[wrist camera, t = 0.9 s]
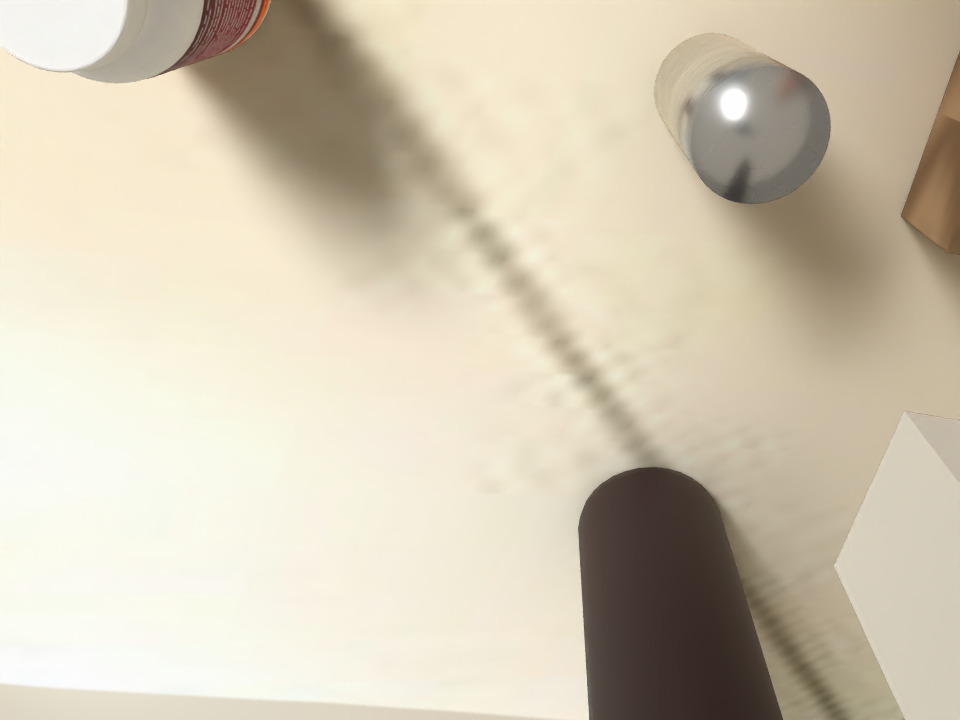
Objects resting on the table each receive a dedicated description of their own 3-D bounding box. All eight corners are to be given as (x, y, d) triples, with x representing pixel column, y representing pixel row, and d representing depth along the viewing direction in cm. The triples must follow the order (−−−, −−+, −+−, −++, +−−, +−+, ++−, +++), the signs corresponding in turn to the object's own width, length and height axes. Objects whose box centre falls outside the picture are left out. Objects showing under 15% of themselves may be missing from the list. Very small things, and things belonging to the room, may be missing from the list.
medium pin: (666, 27, 32) (708, 57, 24) (771, 40, 31) (849, 75, 23) (645, 133, 33) (677, 194, 25) (744, 145, 33) (807, 211, 25)
